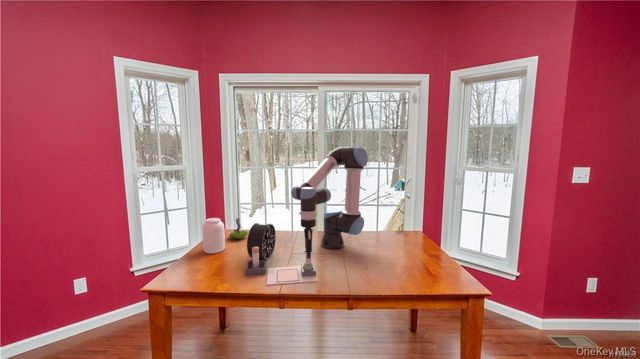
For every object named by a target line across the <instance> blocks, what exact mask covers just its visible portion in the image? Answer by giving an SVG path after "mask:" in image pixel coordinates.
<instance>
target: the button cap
mask: <svg viewBox="0 0 640 359" xmlns="http://www.w3.org/2000/svg"><path fill="white" fill-rule="evenodd" d="M313 265H314V264H313V263H312V262H311V264H306V262H304V263H303V266H304V271H310V270H313Z"/></svg>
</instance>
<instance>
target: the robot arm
mask: <svg viewBox="0 0 640 359" xmlns="http://www.w3.org/2000/svg"><path fill="white" fill-rule="evenodd" d="M368 156H369V155H368V152H367V150H366V148H365V147H363V146H362V147H361V146H339V147H337V148H335V149H333V150H332V151H330V152H329V153H327V154H326V155H325V157H324V158H323V161H322V162H321V163H320V164H319V166H318V167H316V169H315V170H313V172H312V173H311V174H309V176H308V177H307V178H306V179H305V180H304V181H303V182H302V183H301V185H295V186H293V187H292V188H291V192H290V193H291V194H290V195H291V197H292V198H293V199H294V200H298V201H300V212H299V215H300V226H301V228H304V229H303V232H304V248H305V249H304V253H305V263H306V264H311V263H312V252H313V248H312V247H313V229H312V228H315V227H316V226H317V224H316V223H317V221H316V220H317V219H316V218H317V208H316V207H317V206H318V205H321V204H325V203H327V202H329V201H331V198H332V193H331V191H330V190H329V189H328V188H327V187H325V188H324V187H321V188H318V186H320V184H321V183H322V182H323V181H324V180H325V178H327V177H328V175H329V174H330V173H331V172H332V170H335V169H336V168H337V167H338V166H344V169H345V171H346V177H345V178H346V180H345V198H344V202H345V203H344V209H343V210H341V209H331V210H327V211H325V212H324V214H323V235H322V237H321V241H320V245H321V247H322V248H325V249H329V250H337V249H341V248H344V246H345V241H344V237H343V235H342V234H348V235H351V236H352V235H354V236H357V235H359V234H360V233H362V231H363V229H364V226H365V220H364V219H365V218H364V217H363V216H362V212H361V211H360V210H359V209H360V208H359V207H360V193H361V192H360V191H361V190H360V189H361V176H362V175H361V174H362V173H361V172H362V171H363V170H364V167H366V166H367V165H368V164H367V163H368V162H369V161H368V160H369V157H368Z"/></svg>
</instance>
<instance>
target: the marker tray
mask: <svg viewBox="0 0 640 359" xmlns="http://www.w3.org/2000/svg"><path fill="white" fill-rule="evenodd" d="M244 271H245V274H244V276H256V275H266V273H267V259H264V260H259V268H257V269H253V260H252V261H251V260H250V261H247V262H246V266H245V270H244Z"/></svg>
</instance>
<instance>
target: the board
mask: <svg viewBox="0 0 640 359" xmlns="http://www.w3.org/2000/svg"><path fill="white" fill-rule="evenodd" d="M301 266H302V265H296V266H294V265H293V266H281V267H280V266H278V267H267V275H266V276H267V277H266V278H267V280H266V286H276V285H290V284H291V285H292V284H304V283H316V282H318V278H317V275H316V276H305V277H302V274H301Z"/></svg>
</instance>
